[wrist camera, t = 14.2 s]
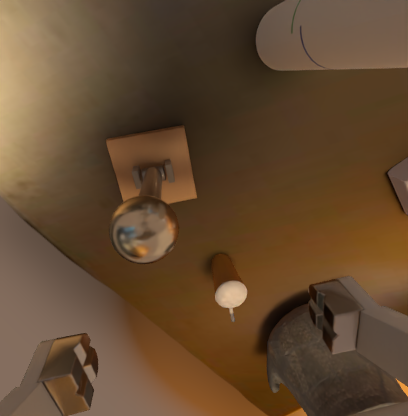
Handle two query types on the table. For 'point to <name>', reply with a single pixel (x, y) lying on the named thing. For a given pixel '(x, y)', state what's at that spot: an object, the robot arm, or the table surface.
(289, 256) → the table surface
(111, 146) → the holder base
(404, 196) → the charger
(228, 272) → the milkshake
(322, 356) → the vessel
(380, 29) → the cylindrical container
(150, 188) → the ball topped rod
